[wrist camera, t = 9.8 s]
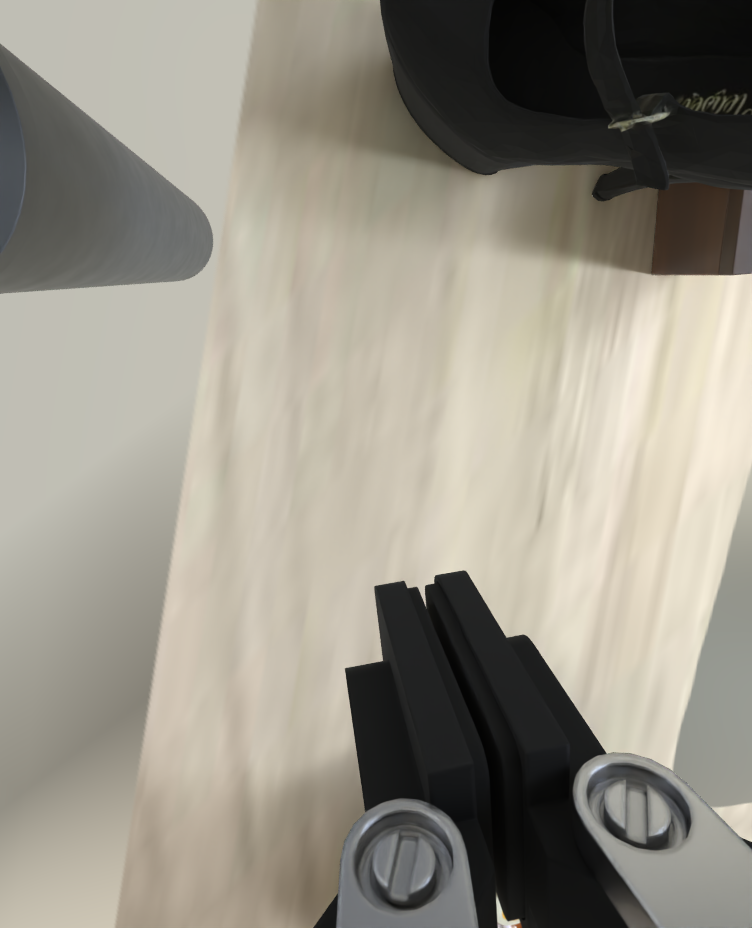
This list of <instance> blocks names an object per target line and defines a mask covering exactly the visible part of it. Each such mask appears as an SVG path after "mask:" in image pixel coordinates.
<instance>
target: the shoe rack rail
mask: <svg viewBox="0 0 752 928" xmlns="http://www.w3.org/2000/svg"><path fill="white" fill-rule="evenodd" d="M741 274H752V190H739V189H728V188H719V187H713V186H709V185H706V184H702V183H698V182H690V183H674V184H669V189H668V190H659V194H658V205H657V217H656V228H655V240H654V251H653V263H652V275H741Z"/></svg>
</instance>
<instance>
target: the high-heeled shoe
mask: <svg viewBox="0 0 752 928" xmlns="http://www.w3.org/2000/svg"><path fill="white" fill-rule="evenodd" d="M380 6H381V15H382V20H383V26H384V31H385V36H386V41H387V45H388V49H389V53H390V56H391V60H392V64H393V72H394V77H395V81H396V85H397V88H398V90H399V93H400V95H401V98H402V100H403V102H404V104H405V106H406V107H407V109H408V111H409V113H410V115H411V116H412V117H413V119H414V120H415V121H416V123H417V124H418V126H419V127H420V128H421V130H422V131H423V132H424V133H425V134H426V135H427V136H428V137H429V138H430V139H431V140H432V141H433V142H434V143H435V144H436V145H437V146H438V147H439V148H440V149H441V150H442V151H443V152H445V153H446V154H447V155H448V156H449V157H451V158H452V159H453V160H455V161H456V162H457V163H459V164H460V165H462V166H463V167H465V168H467V169H469V170H471V171H473V172H475V173H478V174H482V175H492V174H495V173H497V172H498V171H500V170H503V169H510V168H517V167H524V166H532V165H588V164H592V165H609V166H616V167H621V168H619V169H617V170H615V171H613V172H611V173H609V174H603V175H602V176H600V178H599V180H598V182H597V184H596V186H595V188H594V190H593V193H592V195H593V197H594V198H595V199H597V200H598V201H606V200H610V199H612V198H613V197H616V196H618V195H621V194H625V193H628V192H631V191H634V190H638V189H643V188H647V187H650V188H654V189H659V190H668V189H669V184H674V183H690V182H698V183H702V184H706V185H709V186H713V187H719V188H728V189H739V190H752V0H380Z"/></svg>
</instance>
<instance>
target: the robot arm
mask: <svg viewBox="0 0 752 928" xmlns="http://www.w3.org/2000/svg"><path fill="white" fill-rule="evenodd" d="M425 596H426V606H425V604H424V602H423V599H422V597H421V594H420V592H419V589H418V588H417V587H413V588H407V586H406V584H405V581H400V582H395V583H389V584H383V585H378V586H375V599H376V607H377V615H378V623H379V631H380V639H381V647H382V655H383V661H382V662H376V663H371V664H366V665H360V666H355V667H350V668H345V672H346V680H347V687H348V694H349V701H350V708H351V715H352V722H353V729H354V736H355V743H356V750H357V757H358V764H359V771H360V778H361V785H362V792H363V799H364V806H365V814H364V815H363V816H362V817H361V818H360V819H359V820H358V821H357V822H356V823H355V824H354V825H353V827H352V828H351V830H350V832H349V834H348V836H347V838H346V839H345V841H344V846H343V850H342V855H341V860H340V873H339V890H338V894H337V895H336V897H335V898H334V900H333V901H332V902H331V904H330V905H329V907H328V908H327V909H326V911H325V912H324V914H323V915H322V916H321V918H320V919H319V921H318V922H317V924H316V925H315V926H314V928H498V925H497V904H496V894H497V897H498V900H499V903H500V906H501V908H502V911H503V914H504V916H505V918H506V920H507V921H508V922H509V921H513V920H517V919H519V920H520V923H521V926H522V928H752V842H750V841H748V840H745V839H743V838H741V837H739V836H738V835H737V834H736V833H735V832H734V831H733V830H732V829H731V828H730V827H729V826H728V825H727V824H726V822H725V821H724V820H723V819H722V818H721V817H720V816H719V815H718V814H717V813H716V812H715V811H714V810H713V809H712V808H711V807H710V806H709V805H708V804H707V803H706V802H705V801H704V800H703V799H702V798H701V797H700V796H699V795H698V794H697V793H696V792H695V791H694V790H693V789H692V788H691V787H690V786H689V785H688V784H687V783H686V782H685V781H684V780H682V779H681V778H680V777H679V776H678V775H676V774H675V773H674V772H673V771H672V770H670V769H669V768H667V767H665V766H663V765H661V764H659V763H657V762H655V761H654V760H652V759H649V758H645V757H642V756H638V755H635V754H631V753H614V752H613V753H608V754H607V753H606V752H605V750H604V749H603V747H602V746H601V744H600V743H599V741H598V740H597V738H596V737H595V735H594V734H593V732H592V731H591V729H590V728H589V726H588V725H587V723H586V722H585V720H584V719H583V717H582V716H581V714H580V713H579V711H578V710H577V708H576V707H575V705H574V704H573V702H572V701H571V699H570V698H569V696H568V695H567V693H566V692H565V690H564V689H563V687H562V686H561V684H560V683H559V681H558V680H557V678H556V677H555V675H554V674H553V672H552V671H551V669H550V668H549V666H548V665H547V663H546V662H545V660H544V659H543V657H542V656H541V654H540V653H539V651H538V650H537V648H536V647H535V645H534V644H533V642H532V641H531V640H530V639H529V638H528V637H527V636H525V635H519V636H514V637H508V638H506V636H505V635H504V633H503V631H502V630H501V628H500V626H499V625H498V623H497V621H496V620H495V618H494V616H493V615H492V613H491V611H490V610H489V608H488V606H487V605H486V603H485V601H484V600H483V598H482V597H481V595H480V593H479V592H478V590H477V588H476V587H475V585H474V583H473V582H472V580H471V578H470V577H469V575H468V573H467V572H466V571H458V572H452V573H446V574H441V575H436V576H435V579H434V584H430V585H426V586H425ZM426 608H427V609H426Z"/></svg>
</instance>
